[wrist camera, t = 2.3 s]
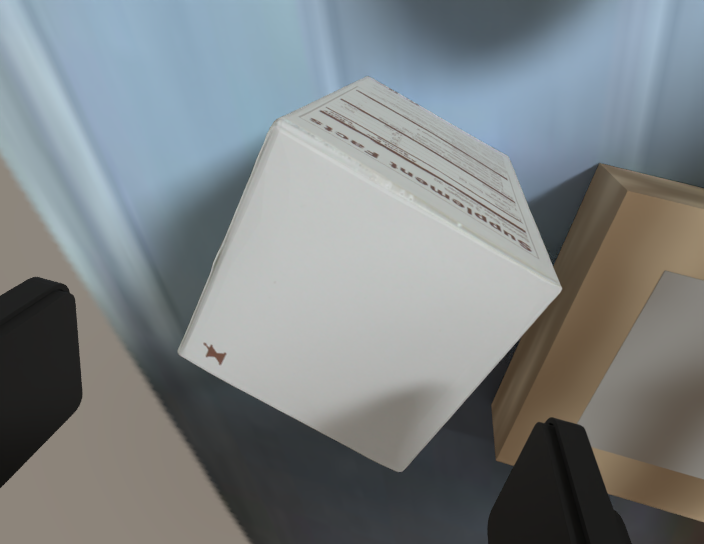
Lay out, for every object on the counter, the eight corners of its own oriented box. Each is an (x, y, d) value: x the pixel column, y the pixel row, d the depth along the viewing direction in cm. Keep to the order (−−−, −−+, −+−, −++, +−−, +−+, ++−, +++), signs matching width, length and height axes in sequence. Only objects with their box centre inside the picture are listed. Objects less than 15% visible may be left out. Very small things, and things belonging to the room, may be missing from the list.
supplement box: (425, 281, 25) (397, 486, 14) (297, 207, 24) (162, 357, 13) (515, 155, 21) (576, 294, 10) (368, 66, 21) (265, 111, 10)
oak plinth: (950, 247, 20) (1058, 296, 16) (749, 478, 26) (794, 549, 23) (599, 163, 21) (627, 191, 17) (491, 405, 27) (496, 461, 24)
